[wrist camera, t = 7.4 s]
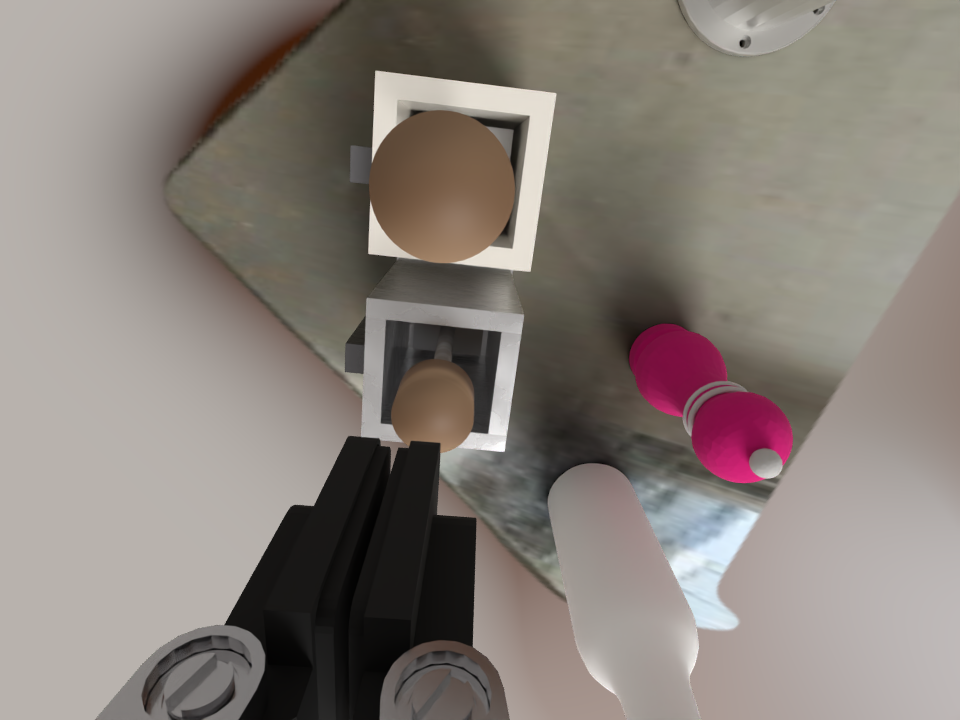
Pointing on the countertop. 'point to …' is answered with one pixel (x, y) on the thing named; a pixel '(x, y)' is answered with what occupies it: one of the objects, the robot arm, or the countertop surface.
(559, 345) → the countertop surface
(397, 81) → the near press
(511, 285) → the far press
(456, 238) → the near plunger
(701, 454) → the pepper mill
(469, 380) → the far plunger
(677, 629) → the alcohol
